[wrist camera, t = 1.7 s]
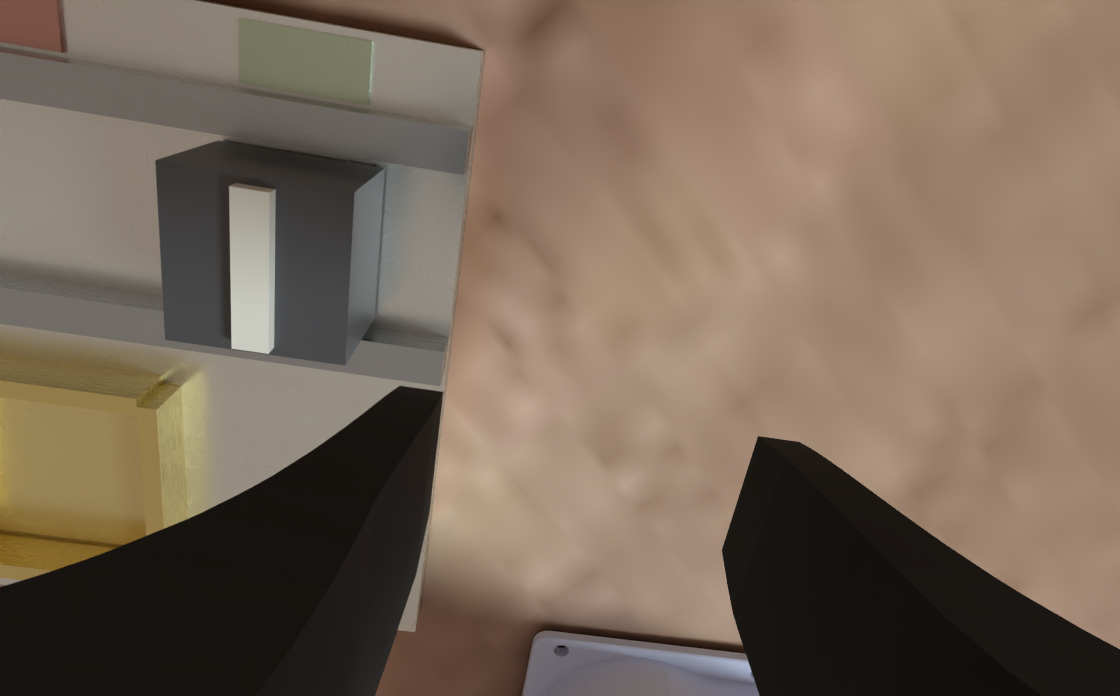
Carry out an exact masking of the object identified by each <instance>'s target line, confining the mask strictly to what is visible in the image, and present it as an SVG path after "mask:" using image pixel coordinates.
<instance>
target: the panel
mask: <svg viewBox="0 0 1120 696" xmlns="http://www.w3.org/2000/svg"><path fill="white" fill-rule="evenodd" d="M484 57H485V51H483V50H477V49H472V48H466V47H461V46H455V45H449V44H444V43H438V42H433V41H427V40H421V39H416V38H410V37H405V36H399V35H394V34H388V33H382V32H377V31H371V30H366V29H360V28H354V27H349V26H343V25H338V24H332V23H326V22H321V21H315V20H310V19H304V18H299V17H293V16H287V15H282V14H276V13H271V12H265V11H259V10H254V9H248V8H243V7H237V6H232V5H226V4H220V3H215V2H209V1H204V0H0V585H9V584H12V583H15V582H19V581H22V580H25V579H28V578H32V577H35V576H38V575H41V574H44V573H47V572H50V571H53V570H56V569H59V568H62V567H65V566H68V565H71V564H74V563H77V562H80V561H83V560H86V559H88V558H91V557H94V556H97V555H100V554H102V553H105V552H108V551H110V550H112V549H115V548H117V547H120V546H122V545H125V544H127V543H130V542H132V541H135V540H137V539H140V538H142V537H145V536H147V535H150V534H152V533H154V532H157V531H159V530H162V529H164V528H167V527H169V526H172V525H174V524H177V523H179V522H182V521H184V520H186V519H189V518H191V517H193V516H195V515H197V514H199V513H202V512H204V511H206V510H208V509H210V508H212V507H214V506H216V505H218V504H220V503H222V502H224V501H226V500H228V499H230V498H232V497H234V496H236V495H238V494H240V493H242V492H244V491H246V490H247V489H249V488H251V487H253V486H255V485H257V484H259V483H260V482H262V481H264V480H266V479H267V478H269V477H271V476H273V475H274V474H276V473H277V472H279V471H281V470H282V469H284V468H285V467H287V466H288V465H290V464H292V463H293V462H295V461H296V460H298V459H300V458H301V457H303V456H304V455H306V454H307V453H309V452H311V451H312V450H314V449H315V448H316V447H318V446H319V445H321V444H322V443H323V442H325V441H326V440H328V439H329V438H330V437H332V436H333V435H335V434H336V433H337V432H339V431H340V430H342V429H343V428H344V427H346V426H347V425H348V424H350V423H351V422H352V421H354V420H355V419H356V418H358V417H359V416H360V415H362V414H363V413H364V412H365V411H367V410H368V409H369V408H371V407H372V406H373V405H374V404H376V403H377V402H378V401H379V400H381V399H382V398H383V397H385V396H386V395H387V394H389V393H390V392H391V391H393V390H394V389H396V388H397V387H399V386H406V387H413V388H420V389H427V390H434V391H441V392H443V400H442V409H441V417H440V426H439V435H438V443H437V452H436V461H435V470H434V478H433V487H432V496H431V504H430V513H429V518H428V522H427V527H426V532H425V536H424V541H423V546H422V550H421V555H420V560H419V564H418V569H417V573H416V577H415V580H414V583H413V586H412V589H411V591H410V594H409V597H408V600H407V603H406V606H405V609H404V612H403V615H402V618H401V621H400V624H399V627H398V630H399V631H408V632H415V631H416V626H417V622H418V618H419V613H420V607H421V599H422V590H423V582H424V573H425V564H426V556H427V547H428V539H429V530H430V521H431V513H432V504H433V496H434V487H435V478H436V470H437V461H438V453H439V444H440V435H441V427H442V418H443V409H444V401H445V392H446V384H447V375H448V366H449V358H450V349H451V341H452V332H453V323H454V315H455V306H456V298H457V289H458V280H459V272H460V263H461V255H462V246H463V237H464V229H465V220H466V212H467V203H468V194H469V186H470V177H471V169H472V160H473V151H474V143H475V134H476V126H477V117H478V108H479V100H480V91H481V82H482V74H483V65H484ZM215 141H224V142H231V143H237V144H243V145H249V146H255V147H261V148H267V149H273V150H279V151H285V152H291V153H297V154H303V155H310V156H316V157H322V158H328V159H334V160H340V161H346V162H352V163H358V164H364V165H370V166H376V167H382V168H385V175H384V189H383V204H382V218H381V233H380V247H379V261H378V276H377V290H376V305H375V318H374V320H373V322H372V323H371V325H370V327H369V328H368V330H367V331H366V333H365V335H364V336H363V338H362V339H361V341H360V343H359V344H358V346H357V347H356V349H355V351H354V352H353V354H352V356H351V357H350V359H349V360H348V362H347V364H346V365H345V366H344V365H337V364H330V363H323V362H316V361H309V360H302V359H295V358H288V357H281V356H274V355H267V354H260V353H253V352H246V351H239V350H232V349H225V348H218V347H211V346H204V345H197V344H190V343H183V342H176V341H169V340H165V329H164V311H163V293H162V274H161V256H160V238H159V220H158V202H157V184H156V165H155V160H157V159H161V158H164V157H167V156H170V155H173V154H176V153H180V152H183V151H186V150H189V149H192V148H196V147H199V146H202V145H205V144H208V143H211V142H215Z"/></svg>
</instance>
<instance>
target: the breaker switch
mask: <svg viewBox="0 0 1120 696" xmlns="http://www.w3.org/2000/svg"><path fill="white" fill-rule="evenodd" d="M155 165H156V184H157V202H158V220H159V238H160V256H161V274H162V293H163V311H164V329H165V340H169V341H176V342H183V343H190V344H197V345H204V346H211V347H218V348H225V349H232V350H239V351H246V352H253V353H260V354H267V355H274V356H281V357H288V358H295V359H302V360H309V361H316V362H323V363H330V364H337V365H344V366H345V365H346V364H347V362H348V360H349V359H350V357H351V356H352V354H353V352H354V351H355V349H356V347H357V346H358V344H359V343H360V341H361V339H362V338H363V336H364V335H365V333H366V331H367V330H368V328H369V327H370V325H371V323H372V322H373V320H374V318H375V305H376V290H377V276H378V261H379V247H380V233H381V218H382V204H383V189H384V175H385V168H382V167H376V166H370V165H364V164H358V163H352V162H346V161H340V160H334V159H328V158H322V157H316V156H310V155H303V154H297V153H291V152H285V151H279V150H273V149H267V148H261V147H255V146H249V145H243V144H237V143H231V142H224V141H215V142H211V143H208V144H205V145H202V146H199V147H196V148H192V149H189V150H186V151H183V152H180V153H176V154H173V155H170V156H167V157H164V158H161V159H157V160H155Z"/></svg>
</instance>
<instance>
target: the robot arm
mask: <svg viewBox="0 0 1120 696" xmlns="http://www.w3.org/2000/svg"><path fill="white" fill-rule="evenodd" d="M442 400H443V392H441V391H434V390H427V389H420V388H413V387H406V386H399V387H397V388H396V389H394V390H393V391H391V392H390V393H389V394H387V395H386V396H385V397H383V398H382V399H381V400H379V401H378V402H377V403H376V404H374V405H373V406H372V407H371V408H369V409H368V410H367V411H365V412H364V413H363V414H362V415H360V416H359V417H358V418H356V419H355V420H354V421H352V422H351V423H350V424H348V425H347V426H346V427H344V428H343V429H342V430H340V431H339V432H337V433H336V434H335V435H333V436H332V437H330V438H329V439H328V440H326V441H325V442H323V443H322V444H321V445H319V446H318V447H316V448H315V449H314V450H312V451H311V452H309V453H307V454H306V455H304V456H303V457H301V458H300V459H298V460H296V461H295V462H293V463H292V464H290V465H288V466H287V467H285V468H284V469H282V470H281V471H279V472H277V473H276V474H274V475H273V476H271V477H269V478H267V479H266V480H264V481H262V482H260V483H259V484H257V485H255V486H253V487H251V488H249V489H247V490H246V491H244V492H242V493H240V494H238V495H236V496H234V497H232V498H230V499H228V500H226V501H224V502H222V503H220V504H218V505H216V506H214V507H212V508H210V509H208V510H206V511H204V512H202V513H199V514H197V515H195V516H193V517H191V518H189V519H186V520H184V521H182V522H179V523H177V524H174V525H172V526H169V527H167V528H164V529H162V530H159V531H157V532H154V533H152V534H150V535H147V536H145V537H142V538H140V539H137V540H135V541H132V542H130V543H127V544H125V545H122V546H120V547H117V548H115V549H112V550H110V551H108V552H105V553H102V554H100V555H97V556H94V557H91V558H88V559H86V560H83V561H80V562H77V563H74V564H71V565H68V566H65V567H62V568H59V569H56V570H53V571H50V572H47V573H44V574H41V575H38V576H35V577H32V578H28V579H25V580H22V581H19V582H15V583H12V584H9V585H6V586H3V587H0V696H375V694H376V691H377V688H378V685H379V682H380V679H381V676H382V673H383V670H384V667H385V664H386V662H387V659H388V656H389V653H390V650H391V647H392V644H393V641H394V638H395V635H396V633H397V630H398V627H399V624H400V621H401V618H402V615H403V612H404V609H405V606H406V603H407V600H408V597H409V594H410V591H411V589H412V586H413V583H414V580H415V577H416V573H417V569H418V564H419V560H420V555H421V550H422V546H423V541H424V536H425V532H426V527H427V522H428V518H429V513H430V504H431V496H432V487H433V478H434V470H435V461H436V452H437V443H438V435H439V426H440V417H441V409H442ZM722 553H723V559H724V566H725V572H726V578H727V585H728V590H729V595H730V600H731V605H732V610H733V615H734V618H735V621H736V624H737V628H738V631H739V634H740V637H741V640H742V643H743V647H744V650H745V653H746V654H744V653H735V652H727V651H718V650H710V649H701V648H693V647H684V646H675V645H667V644H658V643H650V642H641V641H633V640H624V639H616V638H607V637H598V636H590V635H581V634H573V633H564V632H556V631H542V632H540V633H538V634H537V635H535V637H534V639H533V643H532V648H531V653H530V657H529V662H528V667H527V672H526V677H525V682H524V687H523V692H522V696H1120V649H1118V648H1116V647H1114V646H1112V645H1111V644H1109V643H1107V642H1105V641H1103V640H1101V639H1099V638H1098V637H1096V636H1094V635H1092V634H1090V633H1088V632H1086V631H1085V630H1083V629H1081V628H1079V627H1077V626H1076V625H1074V624H1072V623H1071V622H1069V621H1067V620H1065V619H1064V618H1062V617H1060V616H1059V615H1057V614H1055V613H1053V612H1052V611H1050V610H1048V609H1046V608H1045V607H1043V606H1041V605H1040V604H1038V603H1036V602H1034V601H1033V600H1031V599H1029V598H1028V597H1026V596H1024V595H1022V594H1021V593H1019V592H1018V591H1016V590H1014V589H1013V588H1011V587H1009V586H1008V585H1006V584H1005V583H1003V582H1001V581H1000V580H998V579H997V578H995V577H993V576H992V575H990V574H989V573H987V572H986V571H984V570H983V569H981V568H980V567H978V566H977V565H975V564H974V563H972V562H971V561H969V560H968V559H966V558H965V557H963V556H962V555H960V554H959V553H957V552H956V551H954V550H953V549H951V548H950V547H948V546H947V545H945V544H944V543H942V542H941V541H940V540H938V539H937V538H935V537H934V536H932V535H931V534H930V533H928V532H927V531H925V530H924V529H922V528H921V527H920V526H918V525H917V524H916V523H914V522H913V521H911V520H910V519H909V518H907V517H906V516H904V515H903V514H902V513H900V512H899V511H898V510H896V509H895V508H893V507H892V506H891V505H889V504H888V503H887V502H885V501H884V500H883V499H881V498H880V497H878V496H877V495H876V494H874V493H873V492H872V491H870V490H869V489H868V488H866V487H865V486H864V485H862V484H861V483H859V482H858V481H857V480H855V479H854V478H853V477H851V476H850V475H849V474H847V473H846V472H844V471H843V470H842V469H840V468H839V467H837V466H836V465H835V464H833V463H832V462H830V461H829V460H827V459H826V458H825V457H823V456H822V455H820V454H819V453H817V452H815V451H814V450H812V449H811V448H809V447H807V446H805V445H804V444H802V443H800V442H795V441H788V440H781V439H774V438H767V437H760V436H758V438H757V442H756V445H755V448H754V451H753V454H752V457H751V460H750V464H749V467H748V470H747V473H746V476H745V479H744V482H743V486H742V489H741V492H740V495H739V498H738V501H737V505H736V508H735V511H734V514H733V517H732V520H731V523H730V527H729V530H728V533H727V536H726V539H725V542H724V545H723V549H722ZM560 645H564V646H566V647H564V648H559V647H557V646H560Z"/></svg>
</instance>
